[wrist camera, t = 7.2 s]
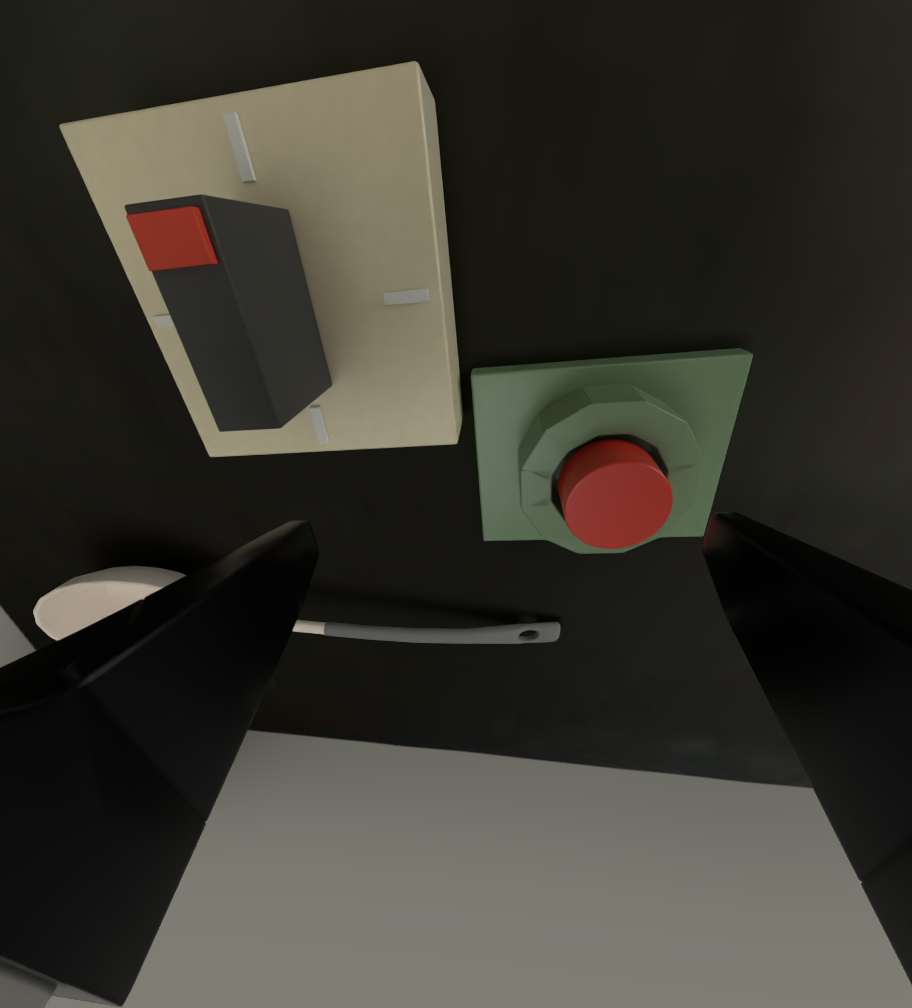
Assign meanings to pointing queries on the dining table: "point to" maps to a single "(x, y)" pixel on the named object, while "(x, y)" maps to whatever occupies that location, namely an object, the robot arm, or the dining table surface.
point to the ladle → (126, 585)
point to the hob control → (310, 241)
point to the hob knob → (236, 305)
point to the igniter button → (614, 494)
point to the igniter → (602, 434)
